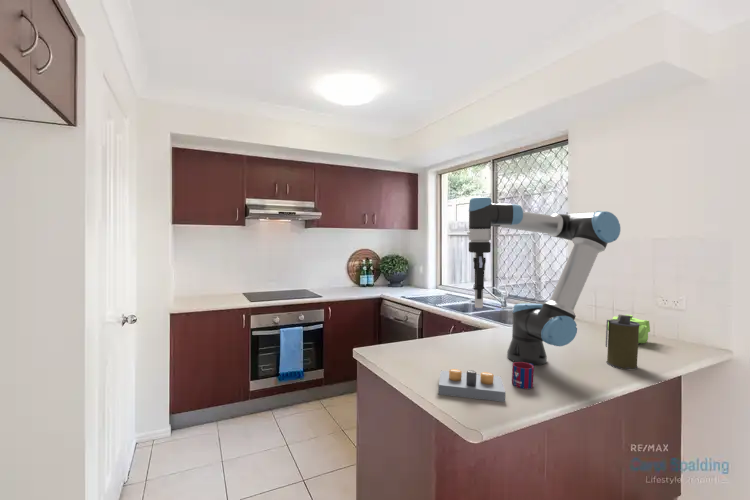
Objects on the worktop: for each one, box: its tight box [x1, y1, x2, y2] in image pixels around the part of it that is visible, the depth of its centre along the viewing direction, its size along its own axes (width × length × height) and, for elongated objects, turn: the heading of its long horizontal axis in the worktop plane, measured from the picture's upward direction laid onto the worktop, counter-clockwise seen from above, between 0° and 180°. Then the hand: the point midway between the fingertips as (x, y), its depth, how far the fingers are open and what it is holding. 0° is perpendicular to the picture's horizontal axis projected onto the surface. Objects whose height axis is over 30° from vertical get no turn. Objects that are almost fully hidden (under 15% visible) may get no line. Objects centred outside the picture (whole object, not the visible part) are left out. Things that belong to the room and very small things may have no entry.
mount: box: [438, 370, 506, 403], centre depth 120 cm, size 20×13×3 cm, turn 77°
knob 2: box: [480, 371, 495, 385], centre depth 119 cm, size 4×4×6 cm
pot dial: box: [466, 370, 477, 387], centre depth 117 cm, size 3×3×4 cm
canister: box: [605, 314, 640, 370], centre depth 147 cm, size 11×10×20 cm
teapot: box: [608, 314, 651, 344], centre depth 180 cm, size 18×20×13 cm
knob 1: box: [448, 368, 463, 381], centre depth 121 cm, size 4×4×6 cm
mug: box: [511, 361, 535, 390], centre depth 126 cm, size 7×10×7 cm
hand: (478, 307), depth 131 cm, fingers closed
